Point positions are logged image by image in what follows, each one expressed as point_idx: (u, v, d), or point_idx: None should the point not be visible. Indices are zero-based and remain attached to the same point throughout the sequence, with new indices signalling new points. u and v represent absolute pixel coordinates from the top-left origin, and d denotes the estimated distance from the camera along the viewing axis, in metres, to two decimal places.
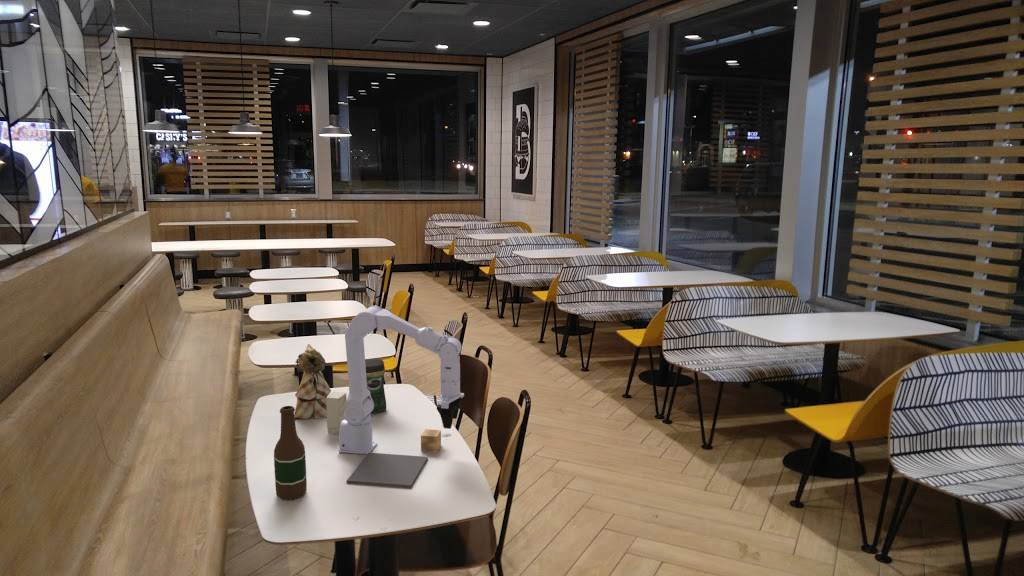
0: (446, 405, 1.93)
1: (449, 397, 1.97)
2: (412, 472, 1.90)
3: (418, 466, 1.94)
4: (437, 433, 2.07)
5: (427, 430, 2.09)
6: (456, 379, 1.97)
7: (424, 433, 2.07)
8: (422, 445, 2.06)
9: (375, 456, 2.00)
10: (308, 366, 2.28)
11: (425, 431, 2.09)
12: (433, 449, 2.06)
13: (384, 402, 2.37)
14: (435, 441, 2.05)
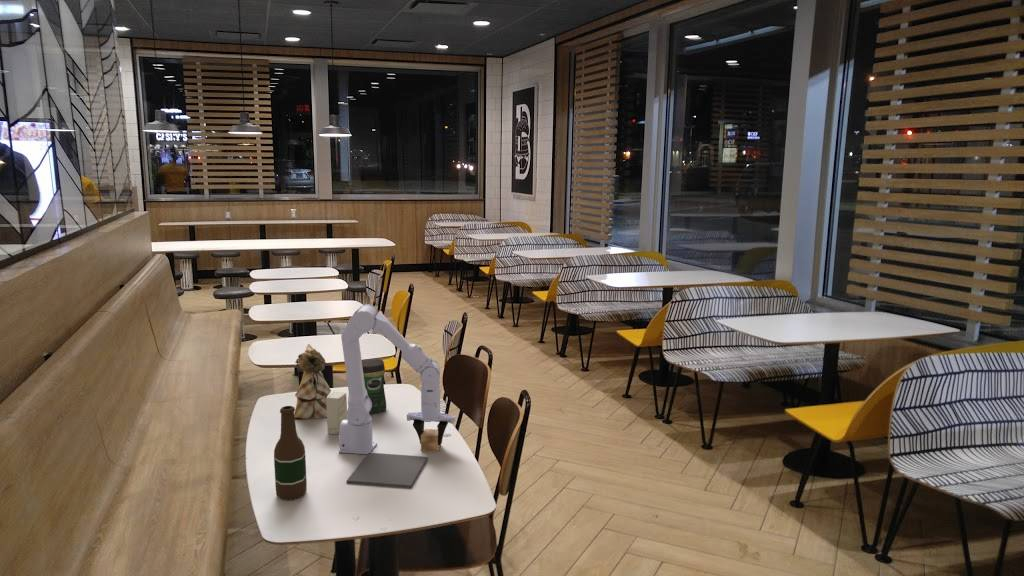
0: None
1: (420, 415, 2.06)
2: (412, 472, 1.90)
3: (418, 466, 1.94)
4: (437, 433, 2.07)
5: (427, 430, 2.09)
6: (437, 401, 2.04)
7: (424, 433, 2.07)
8: (422, 445, 2.06)
9: (375, 456, 2.00)
10: (308, 366, 2.28)
11: (425, 431, 2.09)
12: (433, 449, 2.06)
13: (384, 402, 2.37)
14: (435, 441, 2.05)
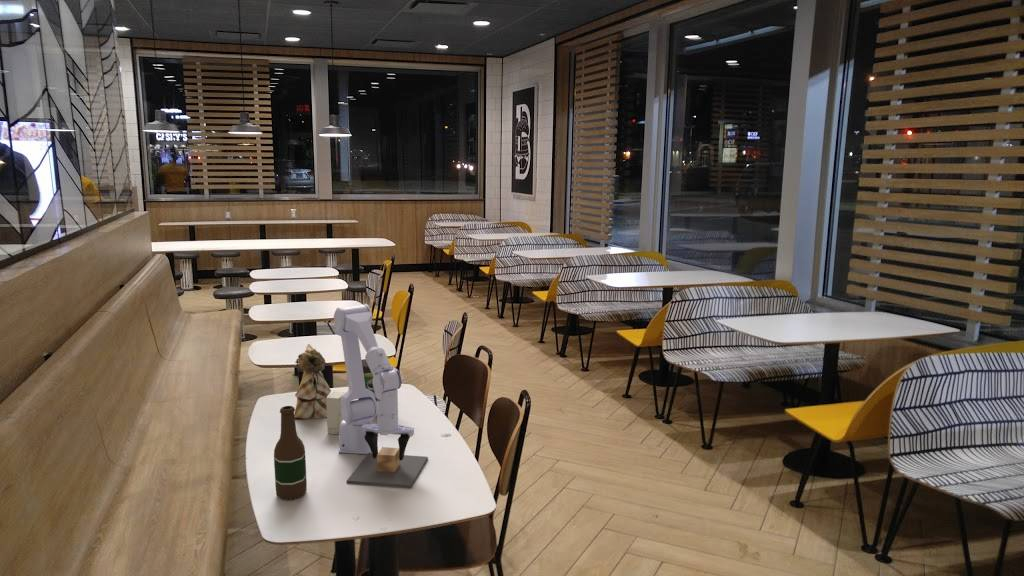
0: None
1: (377, 427, 1.90)
2: (412, 472, 1.90)
3: (418, 466, 1.94)
4: (395, 452, 1.92)
5: (385, 448, 1.94)
6: (385, 413, 1.87)
7: (381, 452, 1.92)
8: (378, 465, 1.90)
9: None
10: (308, 366, 2.28)
11: (382, 449, 1.93)
12: (390, 469, 1.90)
13: None
14: (392, 460, 1.90)
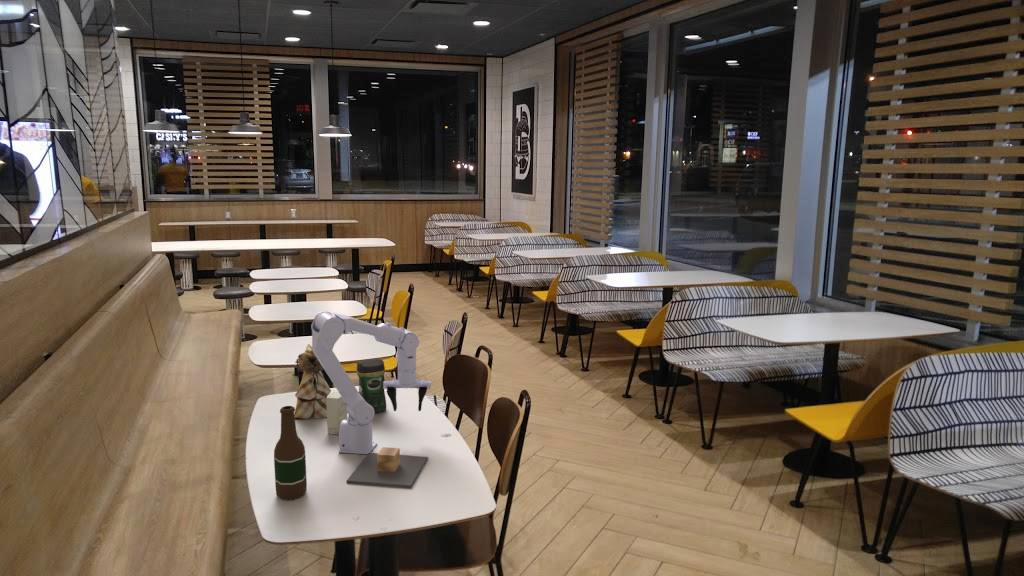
0: None
1: (397, 382, 2.11)
2: (412, 472, 1.90)
3: (418, 466, 1.94)
4: (395, 452, 1.92)
5: (385, 448, 1.94)
6: (415, 366, 2.11)
7: (381, 452, 1.92)
8: (378, 465, 1.90)
9: (375, 456, 2.00)
10: (308, 366, 2.28)
11: (382, 449, 1.93)
12: (390, 469, 1.90)
13: (384, 402, 2.37)
14: (392, 460, 1.90)
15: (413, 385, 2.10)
